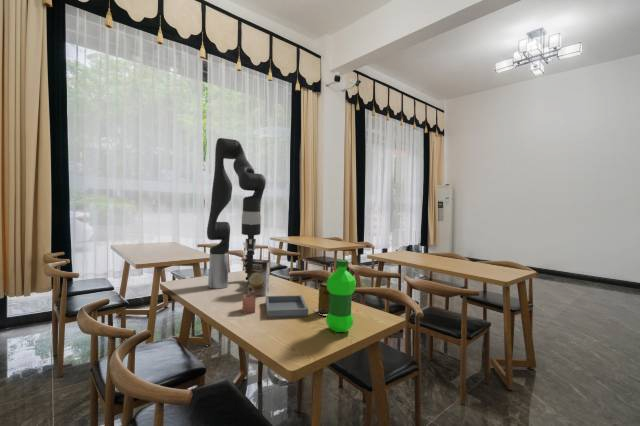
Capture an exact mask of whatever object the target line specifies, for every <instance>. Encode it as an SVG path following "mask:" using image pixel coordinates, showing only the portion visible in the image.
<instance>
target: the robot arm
mask: <svg viewBox="0 0 640 426" xmlns="http://www.w3.org/2000/svg"><path fill="white" fill-rule="evenodd" d="M214 151H215V152H214V155H215V157H214V175H213V180H212V189H211V200H210V201H211V202H210V210H209V217H208V222H207V228H206V236H207V239H208V240H209V241H220V242H219V243H218V244H216V245H212V246H211V247H210V248H209V268H208V280H207V281H208V283H207V284H208V285H207V288H209V289H224V288H227V287H229V259H230V258H229V254H230V253H229V250H230V239H231V238H230V237H231V236H230V235H231V225H230V223H229V222H228V221H218V218H219V216H220V214H221V212H223V210H224V209H225V208H226V207H227V206H228V205H229V203H230V202H231V200H232V195H233V183H232V181H231V179H230V177H229V175H228V173H227V172H226V171H227V170H225V163H224V160H234V161H233V164H232V165H233V170H234V172H235V174H236V175H237V177H238V185H239V188H240V189H241V190H243V191H252V192H253V193H252V195H250V196H249V195H248V196H245V197H243V199H242V216H241V235H242V236H243V235H244V236H247V238H245V250H246V255H247V258H246V259H247V263H246V264H247V265H253V259H254V255H255V254H254V253H255V249H256V244H257V243H256V242H257V239H256V238H255V236H259V235H261V228H262V226H261V225H262V222H261V221H262V214H261V210H262V209H261V208H262V207H261V204H262V198H263V195H264V191H265V188H266V185H267V183H266V181H267V180H266V178H265V176H264V174H262V173H255V169H254V168H253V166H252V165H251V164H250V161H249V160H248V159H247V156H246V153H245V151H244V149H243V146H242V144H241V143H240V141H239V140H236V139H232V138H224V137H223V138H222V137H219V138H217V140H216V144H215V149H214ZM253 254H254V255H253Z"/></svg>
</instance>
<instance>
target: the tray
mask: <svg viewBox="0 0 640 426" xmlns="http://www.w3.org/2000/svg"><path fill="white" fill-rule="evenodd" d="M265 310H266V313H265V314H266V319H279V318H280V319H283V318H284V319H286V318H303V317H304V318H305V317H306V318H307V316H308V317H309V307H308V306H307V304H306V301H305V299H304V297H303V295H302V294H297V295H294V294H293V295H266V296H265Z"/></svg>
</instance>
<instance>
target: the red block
mask: <svg viewBox="0 0 640 426" xmlns="http://www.w3.org/2000/svg"><path fill="white" fill-rule="evenodd" d="M256 296H257V295H256V294H250V295H248V294H243V295H242V311H241V312H242V314H255V313H256Z"/></svg>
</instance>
